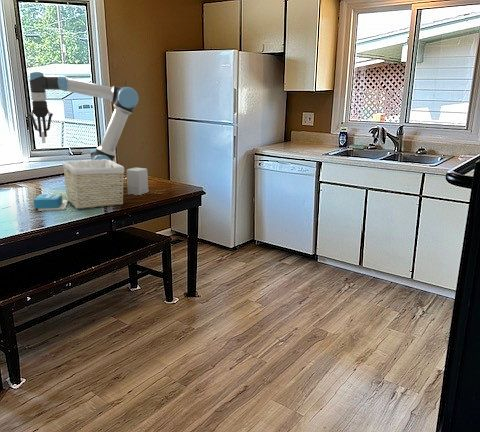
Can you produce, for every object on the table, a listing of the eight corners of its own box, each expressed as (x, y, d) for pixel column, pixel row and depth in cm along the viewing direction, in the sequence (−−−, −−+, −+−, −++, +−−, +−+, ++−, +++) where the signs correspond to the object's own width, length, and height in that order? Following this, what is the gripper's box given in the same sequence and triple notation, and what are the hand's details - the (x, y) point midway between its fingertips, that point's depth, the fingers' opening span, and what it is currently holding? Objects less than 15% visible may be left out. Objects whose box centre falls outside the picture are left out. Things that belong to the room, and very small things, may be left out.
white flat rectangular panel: (68, 200, 245) (68, 199, 245) (65, 209, 229) (65, 208, 229) (43, 202, 242) (42, 200, 242) (38, 210, 225) (37, 209, 225)
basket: (111, 194, 261) (110, 157, 255) (127, 204, 239) (126, 165, 233) (63, 199, 246) (60, 160, 240) (76, 210, 225) (73, 168, 219)
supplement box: (149, 193, 266) (148, 168, 262) (139, 196, 258) (138, 170, 254) (136, 191, 269) (135, 167, 265) (127, 194, 262) (125, 169, 257)
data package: (38, 194, 237) (62, 193, 239) (39, 202, 238) (63, 202, 240) (32, 200, 226) (57, 199, 228) (33, 208, 227) (58, 207, 229)
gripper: (25, 100, 243) (30, 143, 250) (50, 100, 246) (55, 143, 253) (27, 100, 250) (32, 142, 257) (52, 100, 253) (56, 141, 260)
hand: (44, 142), depth 255 cm, fingers closed
